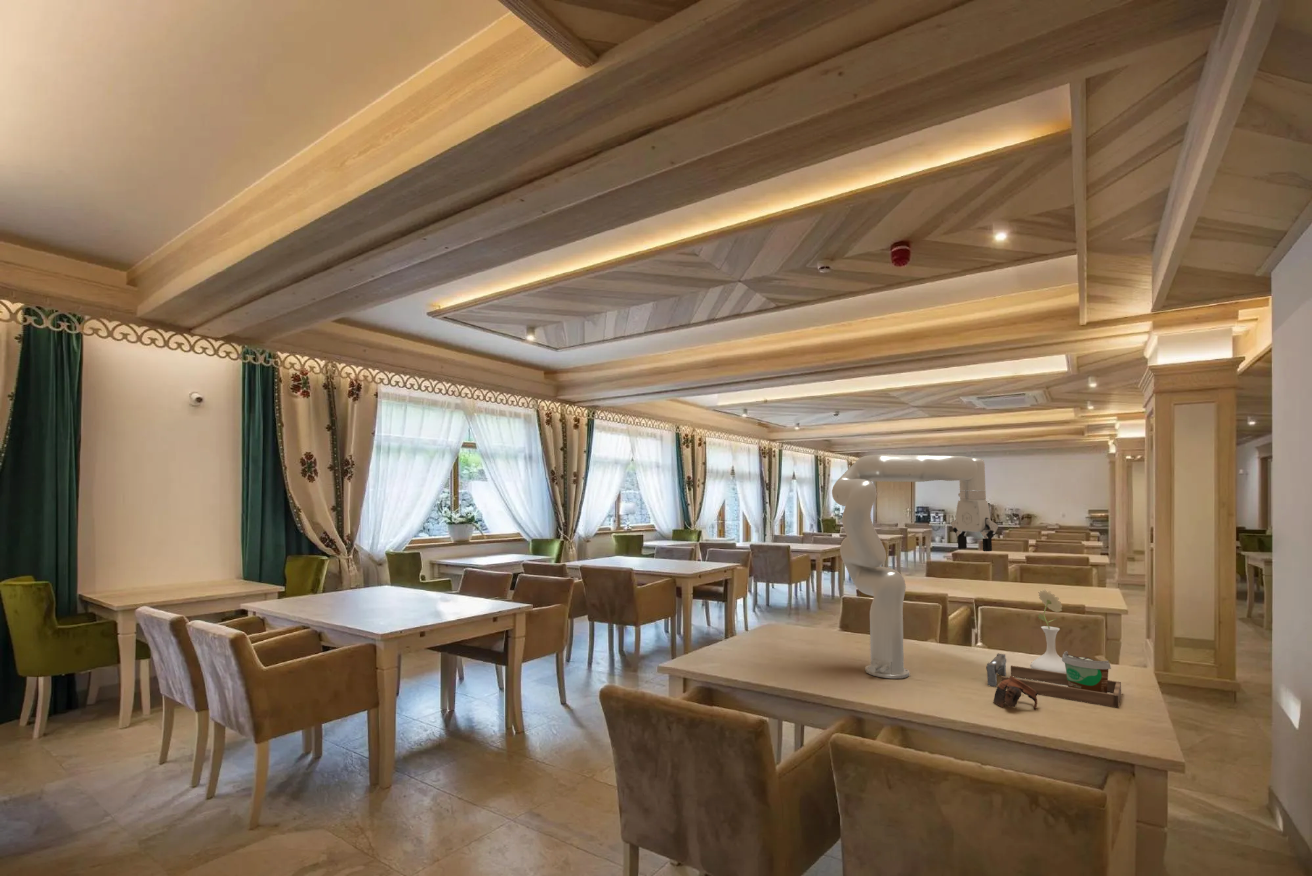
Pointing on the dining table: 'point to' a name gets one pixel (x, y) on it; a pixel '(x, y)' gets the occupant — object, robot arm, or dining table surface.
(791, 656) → the dining table surface
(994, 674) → the grey arched handle
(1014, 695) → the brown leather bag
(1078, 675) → the food container
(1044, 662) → the flower in vase
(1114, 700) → the long wooden tray
